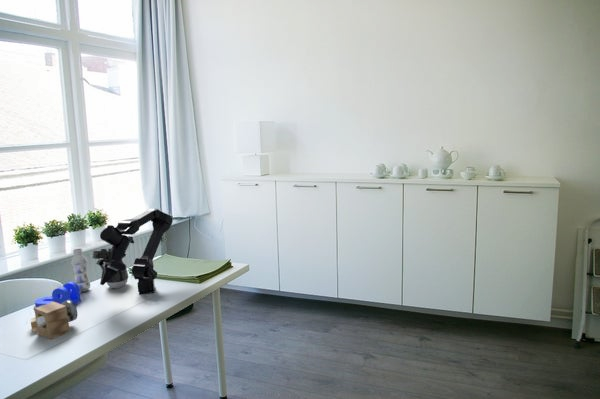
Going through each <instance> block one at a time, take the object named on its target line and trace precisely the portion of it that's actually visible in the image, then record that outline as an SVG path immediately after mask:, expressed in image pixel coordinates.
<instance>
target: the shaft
mask: <svg viewBox="0 0 600 399" xmlns="http://www.w3.org/2000/svg"><path fill="white" fill-rule="evenodd" d="M61 304H62V305H65V306H66V308H67V315H68V322H69V323H70V322H73V321H75V320H77V319H78V309H77V307H76V306H77V305H76V304H74V303H73V302H72V301H71V300H67V301H64V302H62V303H61ZM37 324H38V326H39V327H42V326H44V325H46V322H45V316H40V317H37Z"/></svg>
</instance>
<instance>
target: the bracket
mask: <svg viewBox="0 0 600 399" xmlns="http://www.w3.org/2000/svg"><path fill="white" fill-rule="evenodd" d="M67 300H71V301H72V302H73V303H74V304H75V305H77V304H78V303H80V302H82V298H81V292H80V289H79V286H78V285H77V284H76V283H75V281H69V282H66V283H64V284H63V285H62V286H59V287H56V288H55V289H54V290H52V293H51V295H50V296H43V297H41V298H40V297H39V298H38V299H36V300H35V301H34V305H35V307H34V308H36V307H39V306H42V305H45V304H48V303H51V302H56V303H59V304H61V303H62V302H64V301H67Z"/></svg>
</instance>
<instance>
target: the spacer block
mask: <svg viewBox="0 0 600 399" xmlns="http://www.w3.org/2000/svg"><path fill="white" fill-rule="evenodd" d="M30 326H31V332H32V333H35V332H38V329H37V323H36V317H32V318H30Z"/></svg>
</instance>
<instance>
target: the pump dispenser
mask: <svg viewBox="0 0 600 399" xmlns="http://www.w3.org/2000/svg"><path fill="white" fill-rule="evenodd" d="M125 257H126V256H123V258H125ZM123 258H122V260H121V263H123V264H125V262H124V261H123ZM117 271H118V273H117V274H115V275H114V276H113V277H112V278H111V279H109V280H108V281H107V282H106V284H107V286H109V288H112V289H118V288H119V289H120V288H122V287H124V286H125V285H126V284H127V283H128V279H129V273H128V269H127V268H126V269H125V272H123V271H121V270H119V269H118V270H117Z"/></svg>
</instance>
